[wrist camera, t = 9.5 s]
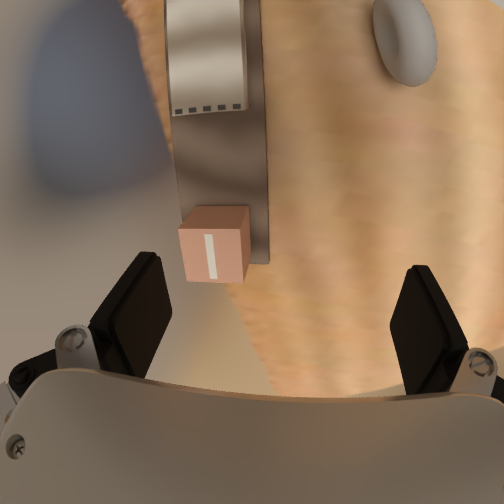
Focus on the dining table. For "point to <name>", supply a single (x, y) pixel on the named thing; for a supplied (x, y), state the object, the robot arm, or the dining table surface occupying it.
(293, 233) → the dining table surface
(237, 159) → the board
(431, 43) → the donut
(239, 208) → the taped shipping carton
